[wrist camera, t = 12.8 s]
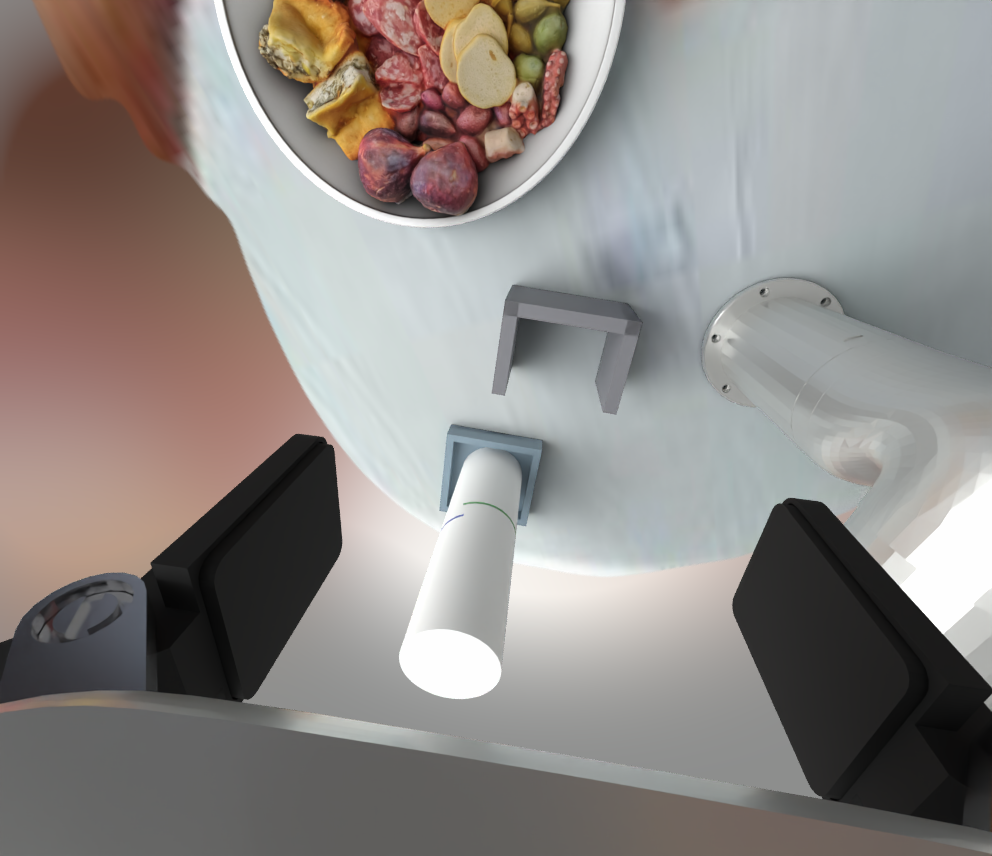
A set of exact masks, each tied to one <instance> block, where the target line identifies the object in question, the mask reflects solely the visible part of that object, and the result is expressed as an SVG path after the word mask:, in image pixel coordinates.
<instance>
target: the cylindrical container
mask: <svg viewBox="0 0 992 856" xmlns="http://www.w3.org/2000/svg"><path fill="white" fill-rule="evenodd" d="M521 482H522V470H521V466H520V464H519V462H518V461H517V459H516V458H515V457H514V456H513V455H511V454H510V453H509V452H507V451H505V450H500V449H494V448H488V447H485V448H480V449H478V450H475V451H474V452H472V453H471V454H470V455H469V456H468V457H467V458H466V460H465V461H464V464H463V467H462V470H461V473H460V476H459V478H458V481H457V484H456V487H455V490H454V493H453V496H452V499H451V502H450V505H449V508H448V511H447V514H446V517H445V520H444V523H443V526H442V529H441V532H440V535H439V538H438V541H437V544H436V547H435V550H434V552H433V555H432V558H431V561H430V564H429V567H428V570H427V573H426V576H425V579H424V582H423V585H422V588H421V590H420V593H419V596H418V599H417V602H416V606H415V608H414V611H413V614H412V617H411V620H410V623H409V626H408V629H407V632H406V635H405V638H404V641H403V644H402V647H401V650H400V653H399V654H400V655H399V661H400V664H401V668H402V670H403V672H404V673H405V675H406V676H407V677H408V678H409V679H410V680H411V681H412V682H413V683H414V684H416V685H417V686H418V687H420V688H422V689H423V690H425V691H427V692H429V693H432V694H435V695H438V696H441V697H446V698H453V699H467V698H473V697H478V696H480V695H483V694H485V693H487V692H488V691H490V690H492V689H493V687H495V686H496V685H497V683H498V681H499V679H500V676H501V669H502V660H503V651H504V641H505V632H506V622H507V613H508V603H509V594H510V585H511V575H512V566H513V556H514V547H515V537H516V528H517V519H518V510H519V500H520V491H521Z"/></svg>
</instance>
